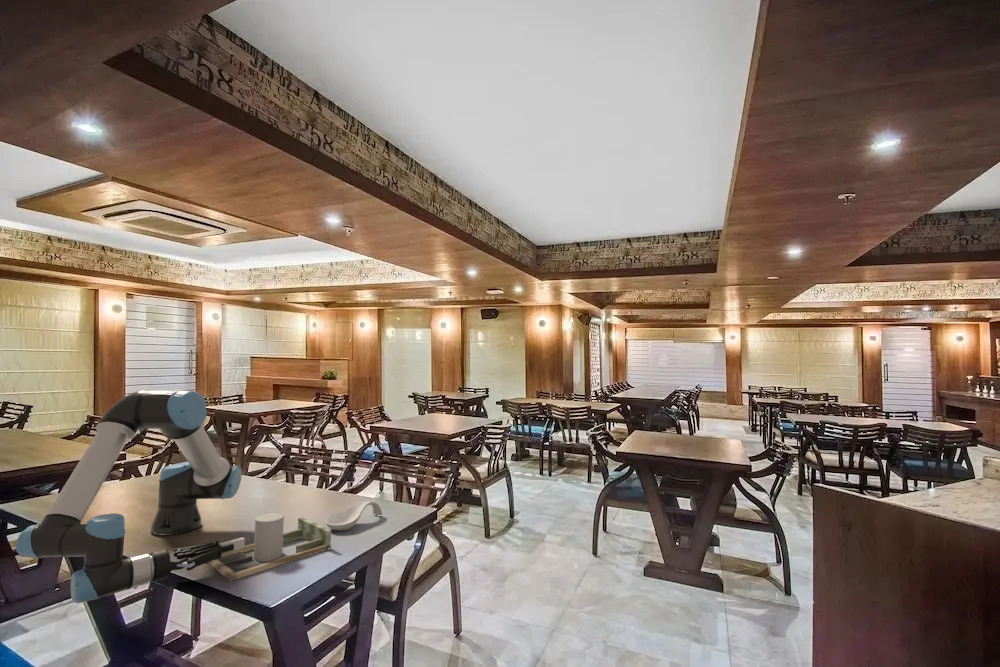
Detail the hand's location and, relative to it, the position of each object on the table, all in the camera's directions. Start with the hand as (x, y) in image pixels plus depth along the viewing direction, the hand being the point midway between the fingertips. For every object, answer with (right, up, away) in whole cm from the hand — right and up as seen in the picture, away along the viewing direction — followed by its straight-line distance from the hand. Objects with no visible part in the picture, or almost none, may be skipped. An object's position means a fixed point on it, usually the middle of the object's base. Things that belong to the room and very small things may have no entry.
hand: (243, 542), depth 143 cm
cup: (+5, -7, +6) cm, 10 cm away
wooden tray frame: (+5, -7, +7) cm, 11 cm away
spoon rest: (+23, -9, +36) cm, 44 cm away
